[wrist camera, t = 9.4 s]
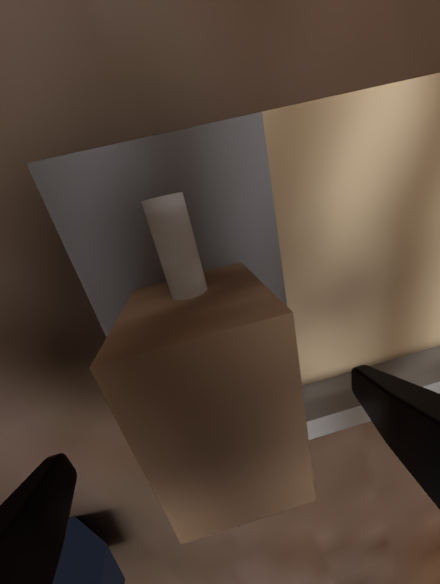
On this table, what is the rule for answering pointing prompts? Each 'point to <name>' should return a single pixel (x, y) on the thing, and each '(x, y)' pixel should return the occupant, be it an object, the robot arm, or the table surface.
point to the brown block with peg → (208, 387)
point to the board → (284, 226)
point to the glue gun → (86, 558)
